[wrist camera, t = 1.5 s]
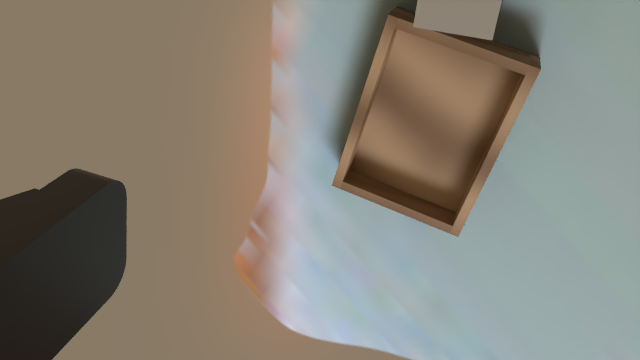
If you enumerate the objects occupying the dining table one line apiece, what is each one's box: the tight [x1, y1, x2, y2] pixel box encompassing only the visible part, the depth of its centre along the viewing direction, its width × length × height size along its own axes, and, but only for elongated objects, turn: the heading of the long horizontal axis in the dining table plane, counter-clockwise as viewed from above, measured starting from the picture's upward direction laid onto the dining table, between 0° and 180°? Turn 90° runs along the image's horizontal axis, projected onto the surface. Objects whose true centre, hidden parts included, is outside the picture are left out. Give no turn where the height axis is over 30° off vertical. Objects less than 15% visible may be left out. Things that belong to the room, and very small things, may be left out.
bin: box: [332, 7, 541, 237], centre depth 37 cm, size 12×9×2 cm
